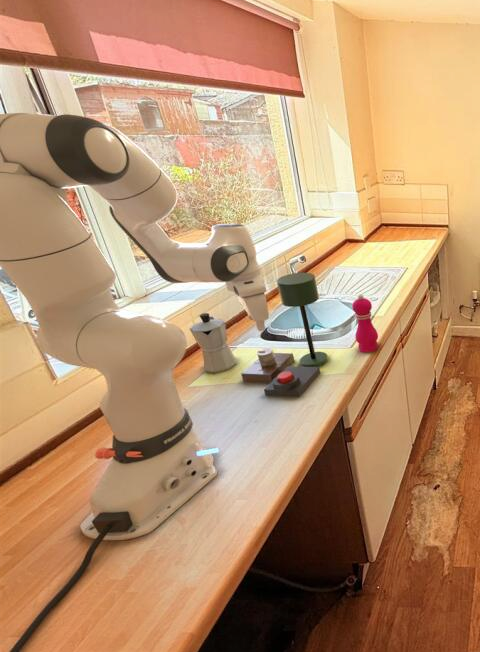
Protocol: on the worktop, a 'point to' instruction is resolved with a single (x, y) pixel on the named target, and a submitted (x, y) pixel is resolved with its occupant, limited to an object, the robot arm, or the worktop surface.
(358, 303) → the pepper mill
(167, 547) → the worktop surface
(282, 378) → the lamp button
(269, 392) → the switch block
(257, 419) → the worktop surface
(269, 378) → the dimmer panel
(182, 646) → the worktop surface
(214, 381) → the worktop surface
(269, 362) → the dimmer knob
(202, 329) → the coffee maker
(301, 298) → the desk lamp
